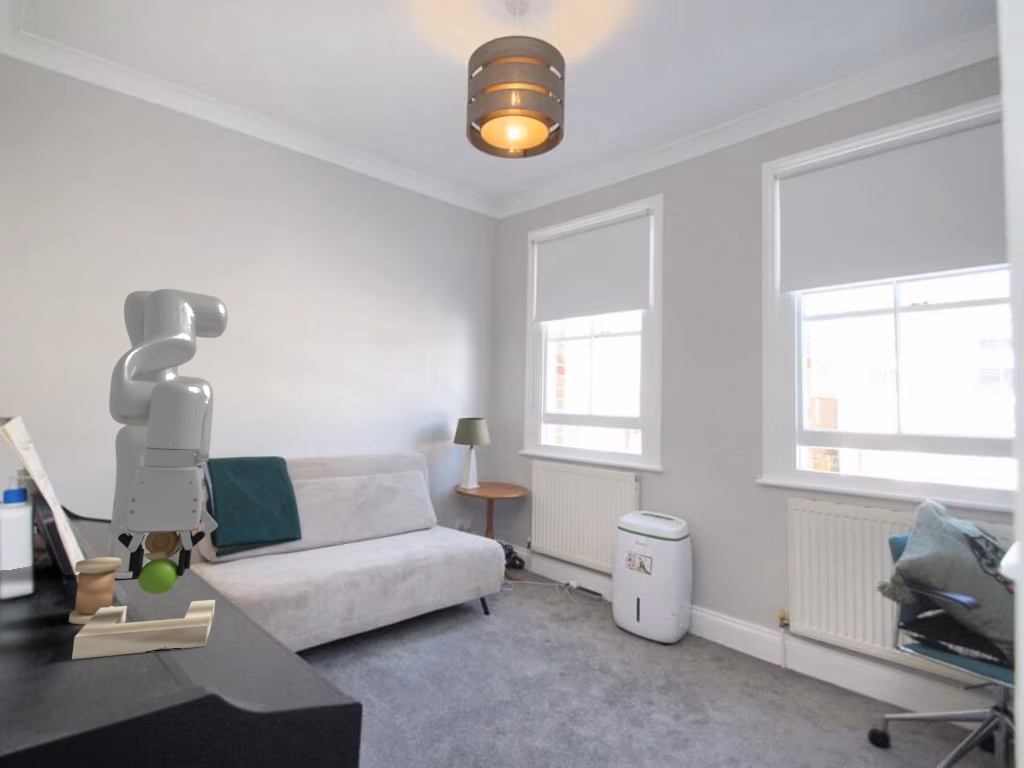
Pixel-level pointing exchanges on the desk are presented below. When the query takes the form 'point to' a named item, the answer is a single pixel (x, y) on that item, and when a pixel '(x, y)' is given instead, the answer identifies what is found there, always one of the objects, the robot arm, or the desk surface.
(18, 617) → the desk surface
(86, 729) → the desk surface
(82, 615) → the bobbin
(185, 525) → the robot arm
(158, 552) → the snail figurine
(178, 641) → the notched board
